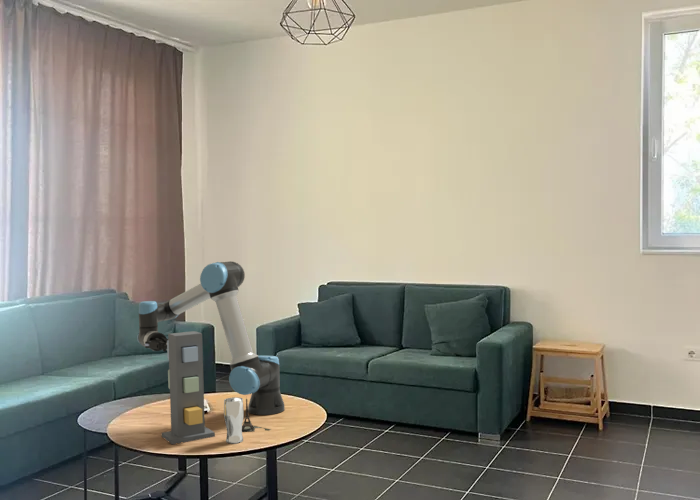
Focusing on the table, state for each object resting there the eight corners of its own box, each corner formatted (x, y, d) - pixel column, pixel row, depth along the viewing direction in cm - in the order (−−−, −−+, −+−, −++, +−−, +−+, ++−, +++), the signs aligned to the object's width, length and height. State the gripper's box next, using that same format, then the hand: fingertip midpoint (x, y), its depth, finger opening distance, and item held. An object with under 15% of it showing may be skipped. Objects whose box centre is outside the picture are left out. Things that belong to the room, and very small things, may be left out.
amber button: (171, 418, 255) (171, 400, 255) (189, 415, 259) (189, 397, 258) (186, 428, 241) (185, 409, 241) (205, 425, 245) (204, 405, 245)
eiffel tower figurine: (272, 431, 257) (271, 395, 256) (252, 437, 249) (252, 401, 248) (244, 425, 266) (244, 391, 266) (225, 431, 258) (224, 396, 258)
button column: (161, 436, 251) (158, 333, 250) (203, 429, 260) (200, 329, 259) (171, 444, 241) (168, 337, 240) (214, 436, 250) (211, 333, 249)
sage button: (168, 388, 257) (167, 369, 257) (186, 385, 261) (186, 367, 261) (182, 396, 243) (182, 376, 243) (201, 393, 247) (201, 374, 247)
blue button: (167, 359, 257) (167, 340, 257) (185, 357, 261) (185, 338, 260) (182, 365, 243) (181, 346, 243) (200, 363, 247) (200, 343, 246)
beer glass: (225, 438, 246) (224, 397, 246) (245, 437, 247) (243, 396, 247) (223, 444, 239) (222, 402, 239) (243, 443, 240) (242, 401, 240)
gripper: (171, 348, 285) (190, 355, 265) (139, 351, 278) (156, 359, 258) (170, 330, 284) (189, 336, 264) (139, 333, 277) (156, 340, 257)
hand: (173, 348), depth 261 cm, fingers closed
